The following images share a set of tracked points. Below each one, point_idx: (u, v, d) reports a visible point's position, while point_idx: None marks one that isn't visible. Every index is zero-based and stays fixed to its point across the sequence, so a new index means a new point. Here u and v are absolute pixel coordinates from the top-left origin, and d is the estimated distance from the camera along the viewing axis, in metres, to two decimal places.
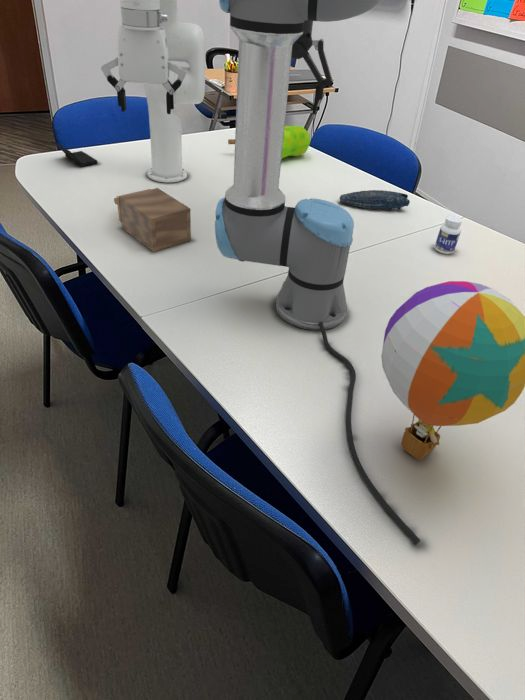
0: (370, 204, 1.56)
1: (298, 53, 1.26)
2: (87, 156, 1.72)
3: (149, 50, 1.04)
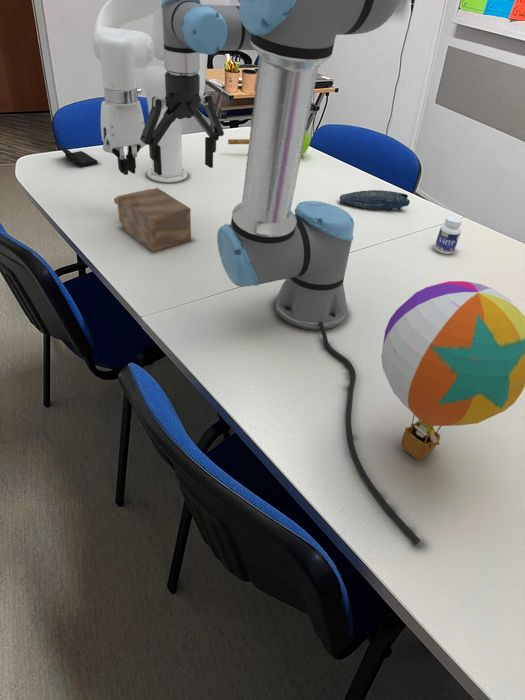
0: (370, 204, 1.56)
1: (189, 112, 1.17)
2: (87, 156, 1.72)
3: (133, 119, 1.25)
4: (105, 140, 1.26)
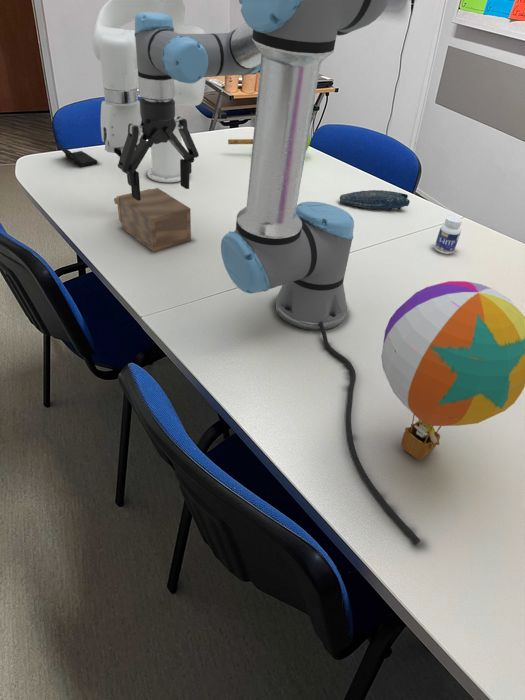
0: (370, 204, 1.56)
1: (166, 137, 1.17)
2: (87, 156, 1.72)
3: (133, 119, 1.25)
4: (106, 140, 1.26)
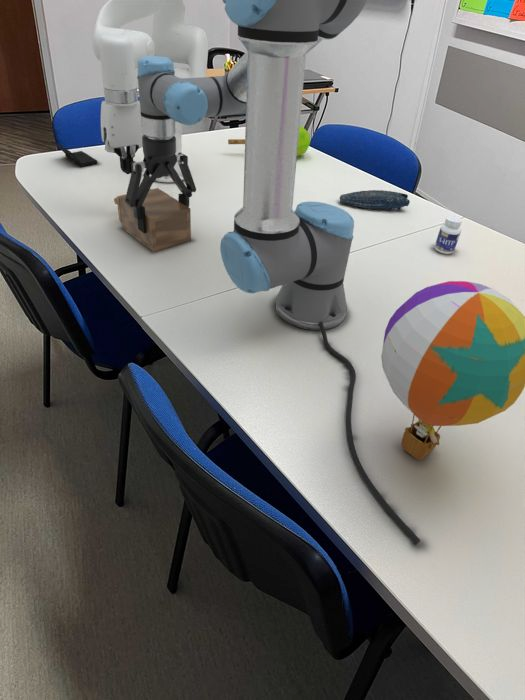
0: (370, 204, 1.56)
1: (167, 171, 1.22)
2: (87, 156, 1.72)
3: (133, 119, 1.25)
4: (106, 140, 1.26)
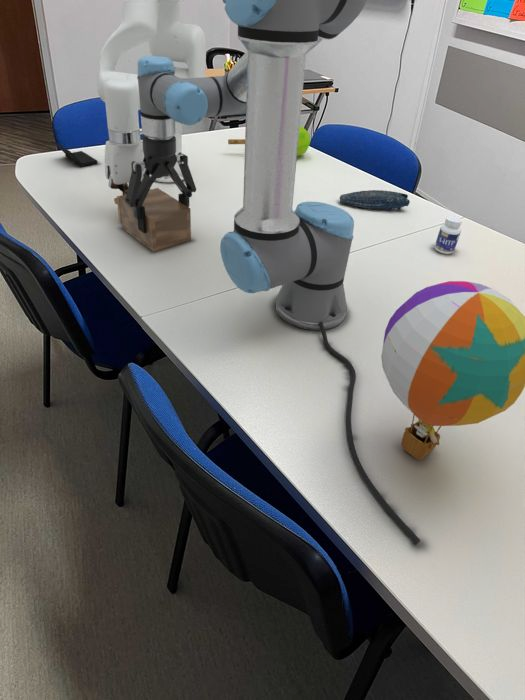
0: (370, 204, 1.56)
1: (167, 171, 1.22)
2: (87, 156, 1.72)
3: (136, 157, 1.31)
4: (110, 178, 1.32)
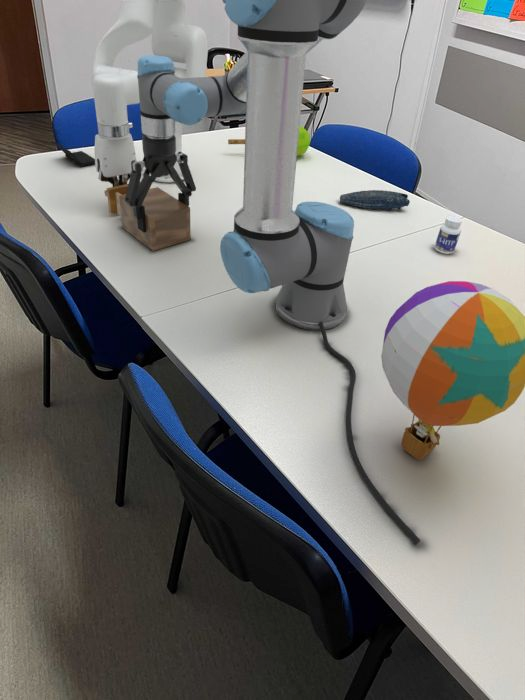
0: (370, 204, 1.56)
1: (167, 170, 1.22)
2: (87, 156, 1.72)
3: (125, 150, 1.34)
4: (100, 171, 1.35)
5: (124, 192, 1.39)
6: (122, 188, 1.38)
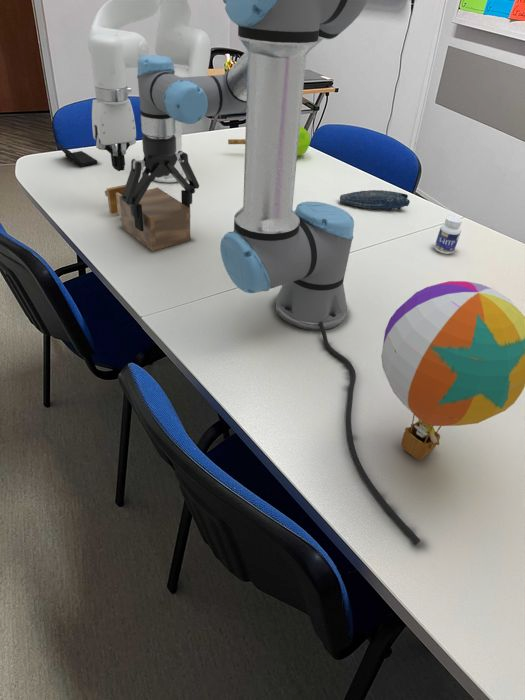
0: (370, 204, 1.56)
1: (167, 170, 1.22)
2: (87, 156, 1.72)
3: (123, 117, 1.29)
4: (97, 138, 1.30)
5: None
6: (122, 188, 1.38)
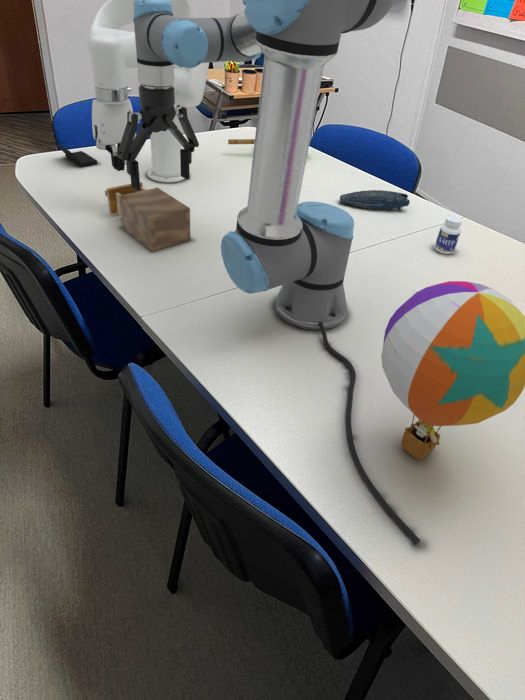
0: (370, 204, 1.56)
1: (165, 125, 1.15)
2: (87, 156, 1.72)
3: (123, 117, 1.29)
4: (97, 138, 1.30)
5: (124, 192, 1.39)
6: (122, 188, 1.38)
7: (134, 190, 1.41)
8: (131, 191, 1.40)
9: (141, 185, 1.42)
